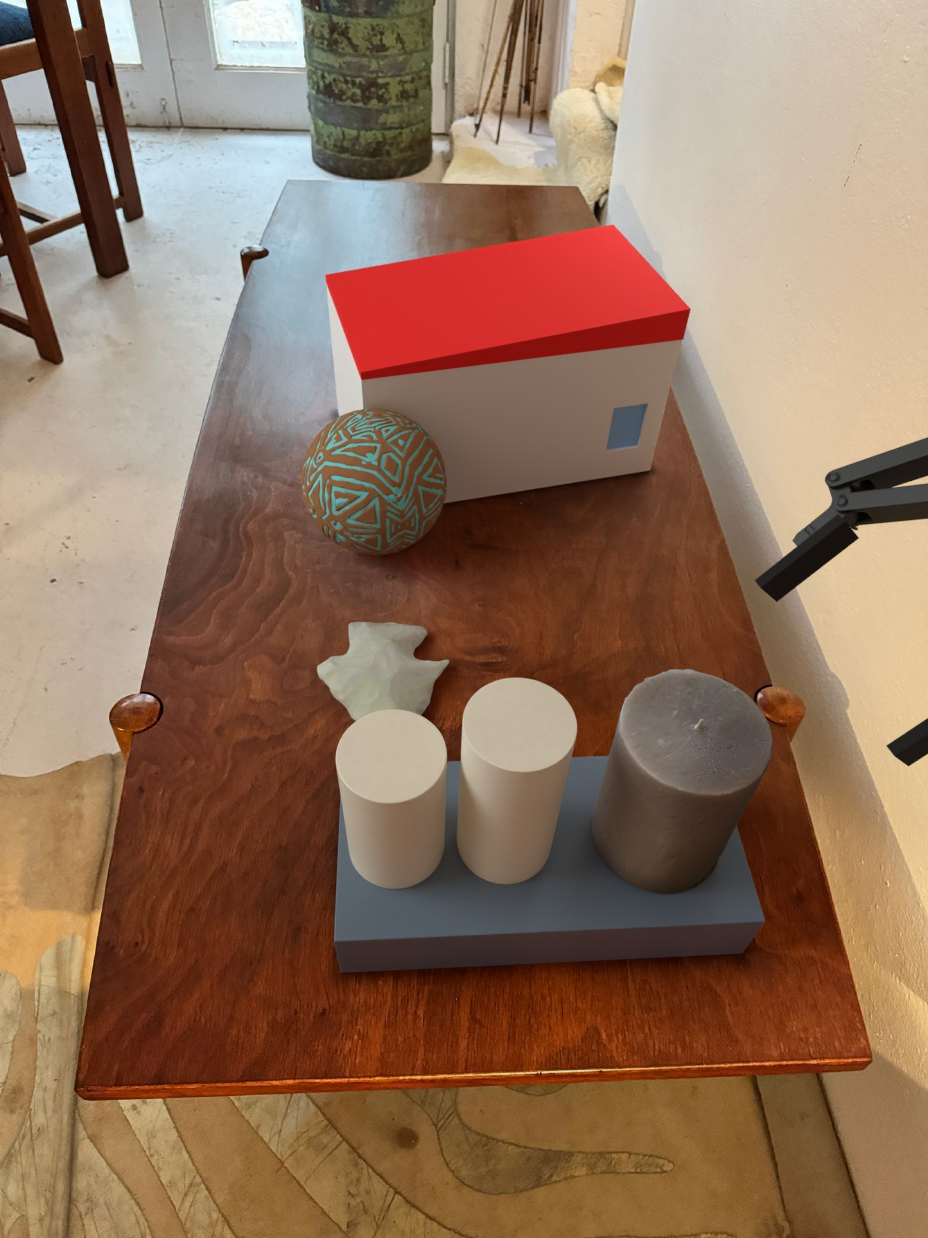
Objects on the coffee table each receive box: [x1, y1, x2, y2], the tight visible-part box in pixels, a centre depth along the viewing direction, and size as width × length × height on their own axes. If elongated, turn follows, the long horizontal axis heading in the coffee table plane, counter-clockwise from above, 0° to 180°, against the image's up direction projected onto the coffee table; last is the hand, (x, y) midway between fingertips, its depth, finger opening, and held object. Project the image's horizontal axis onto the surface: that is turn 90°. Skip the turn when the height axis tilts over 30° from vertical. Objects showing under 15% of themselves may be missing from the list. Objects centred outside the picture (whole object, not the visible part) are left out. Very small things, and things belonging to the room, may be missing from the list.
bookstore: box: [324, 224, 691, 504], centre depth 98 cm, size 21×35×21 cm, turn 106°
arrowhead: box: [316, 621, 450, 722], centre depth 78 cm, size 12×3×15 cm
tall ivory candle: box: [457, 677, 578, 884], centre depth 57 cm, size 7×7×15 cm
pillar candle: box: [592, 668, 774, 894], centre depth 58 cm, size 10×10×15 cm
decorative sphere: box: [300, 409, 447, 556], centre depth 88 cm, size 15×15×15 cm
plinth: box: [333, 755, 766, 974], centre depth 65 cm, size 30×14×6 cm, turn 93°
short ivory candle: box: [335, 709, 448, 889], centre depth 58 cm, size 7×7×12 cm
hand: (825, 667), depth 52 cm, fingers open, 13 cm apart
